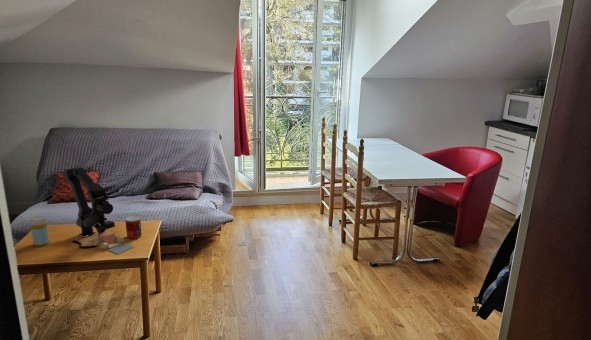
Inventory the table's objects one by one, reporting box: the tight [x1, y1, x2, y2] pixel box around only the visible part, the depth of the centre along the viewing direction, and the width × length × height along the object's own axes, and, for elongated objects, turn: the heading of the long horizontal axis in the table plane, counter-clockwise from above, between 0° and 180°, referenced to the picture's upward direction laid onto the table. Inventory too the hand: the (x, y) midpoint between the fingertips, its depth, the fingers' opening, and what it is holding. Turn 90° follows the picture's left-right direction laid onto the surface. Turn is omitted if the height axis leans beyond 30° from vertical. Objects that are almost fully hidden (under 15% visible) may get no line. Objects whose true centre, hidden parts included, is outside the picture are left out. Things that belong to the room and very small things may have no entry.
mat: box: [107, 242, 135, 255], centre depth 216 cm, size 8×10×1 cm
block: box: [97, 230, 116, 244], centre depth 221 cm, size 6×6×5 cm
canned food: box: [125, 215, 142, 240], centre depth 230 cm, size 8×8×11 cm
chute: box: [92, 234, 125, 251], centre depth 221 cm, size 12×10×3 cm
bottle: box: [30, 215, 50, 248], centre depth 218 cm, size 7×7×15 cm
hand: (101, 236), depth 224 cm, fingers closed
